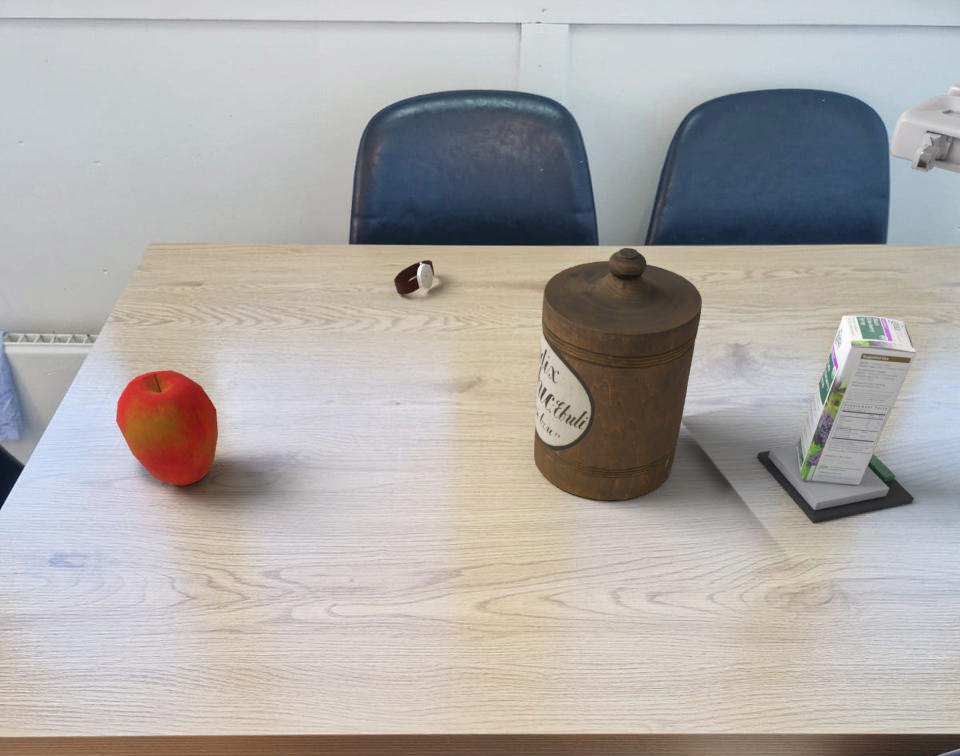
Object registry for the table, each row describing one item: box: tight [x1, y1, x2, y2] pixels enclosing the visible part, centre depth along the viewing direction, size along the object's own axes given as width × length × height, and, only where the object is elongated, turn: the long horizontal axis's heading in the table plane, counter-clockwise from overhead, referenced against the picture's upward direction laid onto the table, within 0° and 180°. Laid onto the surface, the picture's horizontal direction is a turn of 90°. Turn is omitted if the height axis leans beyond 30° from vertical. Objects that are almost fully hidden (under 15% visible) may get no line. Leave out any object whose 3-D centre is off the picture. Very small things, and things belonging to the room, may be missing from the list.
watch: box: [393, 259, 435, 296], centre depth 117 cm, size 8×5×4 cm, turn 155°
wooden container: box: [533, 247, 703, 501], centre depth 84 cm, size 15×15×22 cm
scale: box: [757, 443, 915, 524], centre depth 87 cm, size 11×11×3 cm
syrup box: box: [796, 315, 917, 485], centre depth 80 cm, size 6×6×14 cm
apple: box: [115, 369, 219, 486], centre depth 85 cm, size 9×9×12 cm
